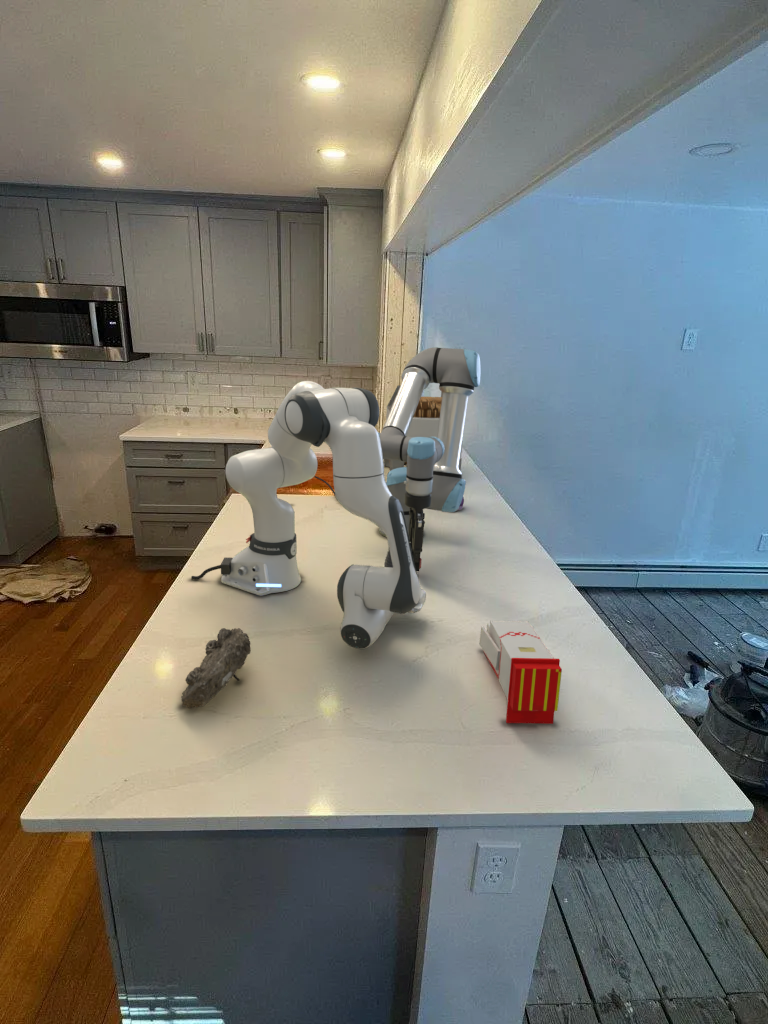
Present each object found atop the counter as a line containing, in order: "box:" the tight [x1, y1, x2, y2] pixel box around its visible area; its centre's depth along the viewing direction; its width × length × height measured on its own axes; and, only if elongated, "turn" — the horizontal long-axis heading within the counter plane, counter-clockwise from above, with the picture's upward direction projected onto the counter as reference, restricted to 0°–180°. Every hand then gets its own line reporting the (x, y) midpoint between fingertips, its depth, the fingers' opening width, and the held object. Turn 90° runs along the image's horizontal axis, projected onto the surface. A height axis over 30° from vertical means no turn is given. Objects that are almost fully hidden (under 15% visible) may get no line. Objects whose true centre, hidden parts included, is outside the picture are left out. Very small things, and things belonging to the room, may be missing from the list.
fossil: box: [180, 627, 252, 709], centre depth 117 cm, size 22×10×15 cm
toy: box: [478, 620, 563, 725], centre depth 121 cm, size 12×13×30 cm
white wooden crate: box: [383, 384, 465, 472], centre depth 268 cm, size 34×33×41 cm
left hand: (394, 580), depth 151 cm, fingers closed on bottle, 5 cm apart
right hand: (413, 566), depth 169 cm, fingers closed on cap, 5 cm apart
